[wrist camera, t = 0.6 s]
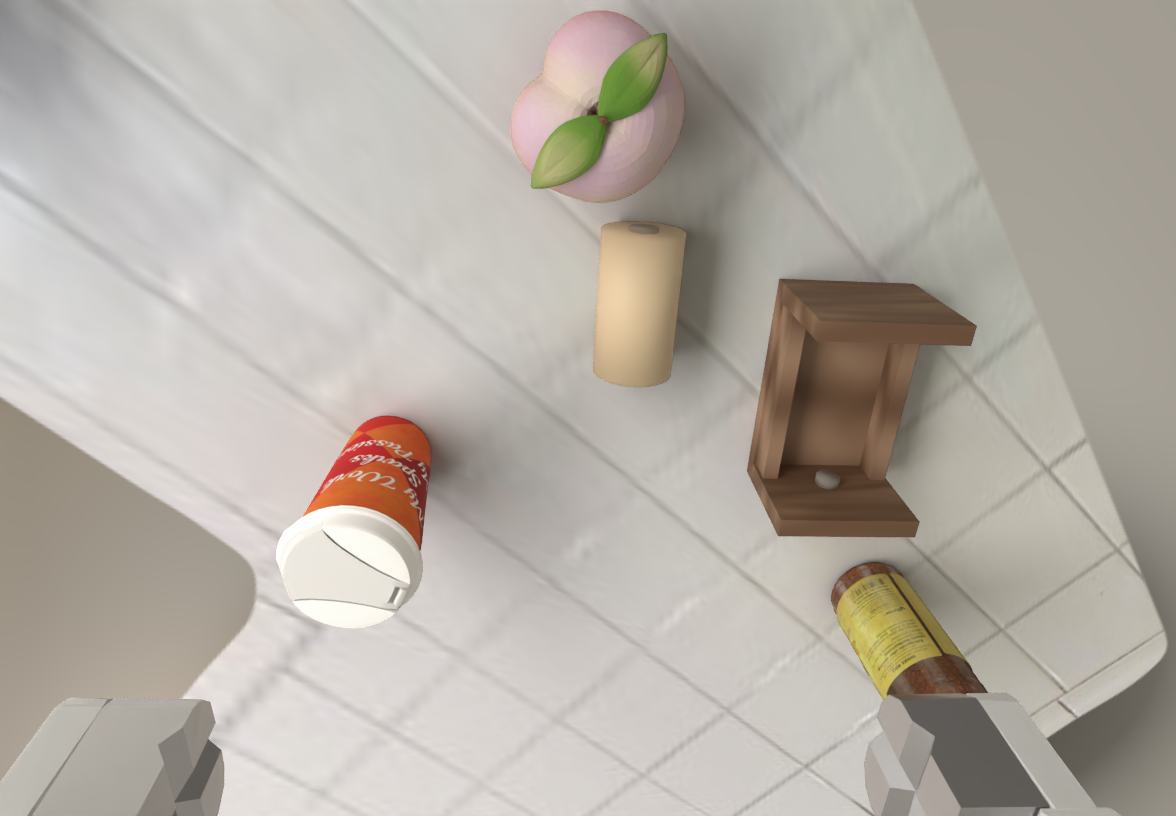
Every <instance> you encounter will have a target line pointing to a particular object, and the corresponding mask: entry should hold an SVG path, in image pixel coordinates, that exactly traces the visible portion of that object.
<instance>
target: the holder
mask: <svg viewBox="0 0 1176 816" xmlns="http://www.w3.org/2000/svg"><path fill="white" fill-rule="evenodd" d="M976 327H977V326H976V325H975V324H973V323H972V322H970V321H969V320H967V319H966V318H964V317H963V316H961V315H960V314H958V313H957V312H955V311H954V310H952V309H951V308H949V307H948V306H946V305H945V304H943V303H942V302H940V301H939V300H937V299H936V298H934V297H933V296H931V295H930V294H928V293H926V292H925V291H923V290H922V289H920V288H919V287H917V286H916V285H914V284H901V283H873V282H845V281H817V280H790V279H779V285H778V291H777V297H776V302H775V308H774V314H773V320H772V326H771V332H770V338H769V344H768V350H767V356H766V362H765V368H764V374H763V380H762V386H761V391H760V397H759V403H758V409H757V415H756V421H755V427H754V433H753V439H752V445H751V451H750V457H749V463H748V469H747V472H748V474H749V476H750V478H751V480H752V483H753V485H754V487H755V489H756V491H757V493H758V495H759V497H760V499H761V501H762V503H763V505H764V507H765V510H766V512H767V514H768V516H769V518H770V520H771V522H772V524H773V526H774V528H775V530H776V532H777V534H778V536H828V537H915V535H916V532H917V528H918V525H919V521H918V519H917V518H916V517H915V515H914V514H913V513H912V512H911V510H910V509H909V508H908V507H907V505H906V504H905V503H904V501H903V500H902V499H901V498H900V496H899V495H898V494H897V493H896V491H895V490H894V489H893V487H892V486H891V485H890V484H889V482H888V481H887V480H886V478H885V476H886V472H887V468H888V465H889V461H890V457H891V453H892V449H893V445H894V442H895V438H896V434H897V430H898V426H899V422H900V419H901V415H902V411H903V407H904V403H905V399H906V396H907V392H908V388H909V384H910V380H911V376H912V373H913V369H914V365H915V361H916V357H917V354H918V350H919V346H920V344H925V345H958V346H971V344H972V341H973V337H974V334H975V330H976Z"/></svg>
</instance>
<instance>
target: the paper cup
mask: <svg viewBox="0 0 1176 816" xmlns="http://www.w3.org/2000/svg"><path fill="white" fill-rule="evenodd" d="M430 464H431V449H430V444H429V442H428V439H427V437H426V436H425V434H424V433H423V432H422V430H421V429H420V428H419V427H417V426H416V425H415V424H413V423H412V422H410V421H408V420H406V419H403V418H400V417H395V416H380V417H376V418H373V419H370V420H368V421H366V422H365V423H363V424H362V425H361V426H360V427H359V428H358V429H357V430H356V431H355V432H354V434H353V435H352V437H351V438H350V440H349V441H348V443H347V444H346V446H345V447H344V449H343V451H342V452H341V454H340V456H339V457H338V459H337V460H336V462H335V464H334V465H333V467H332V469H331V470H330V472H329V474H328V475H327V477H326V479H325V480H324V482H323V484H322V485H321V487H320V489H319V490H318V492H317V494H316V495H315V497H314V499H313V500H312V502H311V504H310V506H309V507H308V509H307V511H306V512H305V514H304V516H303V517H302V518H300V519H299V520H298V521H297V522H295V523H294V524H293V525H292V526H291V527H289V528H288V529H287V530H285V531H284V532H283V534H282V536H281V538H280V540H279V543H278V546H277V552H276V559H277V562H278V565H279V567H280V571H281V576H282V577H283V581H284V585H285V587H286V590H287V592H288V594H289V596H290V598H291V600H292V602H293V603H294V605H295V606H297V607H298V608H299V609H300V610H301V611H302V612H303V613H305V614H306V615H308V616H309V617H311V618H313V619H315V620H317V621H319V622H322V623H324V624H327V625H331V626H335V627H342V628H360V627H367V626H371V625H374V624H377V623H380V622H382V621H384V620H386V619H388V618H389V617H391V616H392V615H394V614H395V613H396V612H397V611H398V610H399V608H400V607H401V606H403V605H404V604H405V603H406V602H408V600H409V599H410V598H411V597H412V596H413V595H414V593H415V592H416V590H417V589H418V586H419V584H420V581H421V577H422V572H423V561H422V557H421V553H420V550H421V544H422V536H423V526H424V516H425V506H426V498H427V490H428V482H429V474H430Z"/></svg>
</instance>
